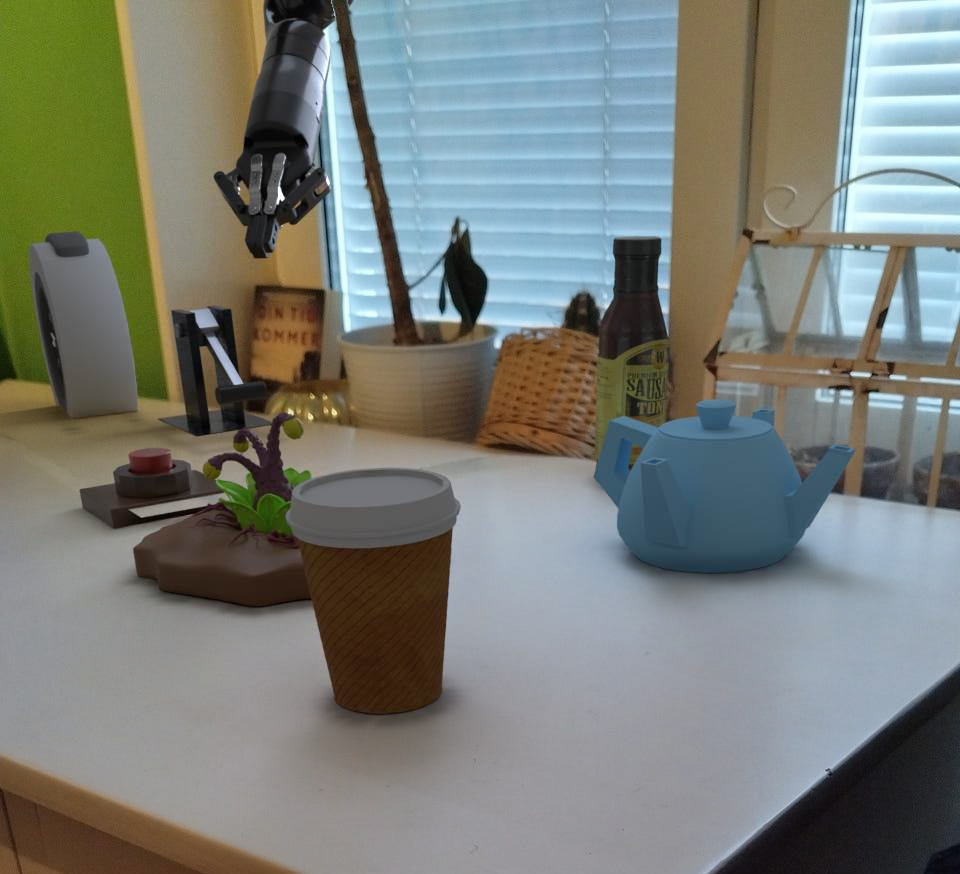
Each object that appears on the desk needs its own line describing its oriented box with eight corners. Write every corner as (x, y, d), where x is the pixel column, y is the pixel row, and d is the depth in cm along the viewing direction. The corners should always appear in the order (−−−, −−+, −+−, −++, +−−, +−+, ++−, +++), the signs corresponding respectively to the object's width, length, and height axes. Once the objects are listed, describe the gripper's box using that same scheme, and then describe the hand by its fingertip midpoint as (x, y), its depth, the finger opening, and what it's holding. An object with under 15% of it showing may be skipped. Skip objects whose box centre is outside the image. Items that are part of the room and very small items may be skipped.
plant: (264, 624, 88) (243, 454, 83) (101, 573, 100) (73, 421, 95) (467, 552, 101) (460, 401, 95) (301, 514, 113) (286, 378, 107)
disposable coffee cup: (336, 739, 71) (313, 519, 65) (287, 681, 79) (262, 480, 73) (496, 705, 74) (487, 492, 69) (433, 653, 82) (421, 458, 76)
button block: (114, 529, 111) (106, 487, 109) (82, 508, 118) (75, 468, 116) (235, 507, 116) (230, 466, 114) (198, 487, 123) (192, 449, 121)
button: (139, 479, 113) (136, 458, 112) (126, 472, 116) (122, 451, 115) (179, 472, 115) (176, 452, 114) (165, 465, 118) (162, 445, 117)
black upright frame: (278, 437, 141) (263, 309, 135) (199, 450, 137) (180, 319, 131) (235, 421, 150) (219, 300, 144) (159, 432, 146) (140, 308, 140)
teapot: (772, 515, 107) (781, 376, 101) (849, 568, 94) (864, 411, 88) (588, 532, 105) (588, 391, 99) (642, 589, 92) (645, 429, 86)
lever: (265, 404, 136) (268, 385, 134) (220, 411, 134) (222, 392, 132) (219, 325, 141) (221, 306, 139) (175, 331, 139) (176, 311, 137)
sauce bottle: (630, 490, 115) (634, 241, 106) (580, 479, 120) (579, 239, 110) (680, 476, 119) (688, 234, 109) (629, 466, 123) (633, 232, 114)
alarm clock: (52, 405, 164) (18, 229, 154) (113, 398, 166) (83, 225, 156) (78, 435, 146) (41, 240, 137) (145, 427, 149) (114, 234, 139)
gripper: (214, 90, 138) (184, 228, 134) (334, 84, 135) (307, 225, 131) (240, 146, 145) (212, 279, 141) (354, 141, 142) (329, 276, 138)
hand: (258, 252), depth 136 cm, fingers closed
